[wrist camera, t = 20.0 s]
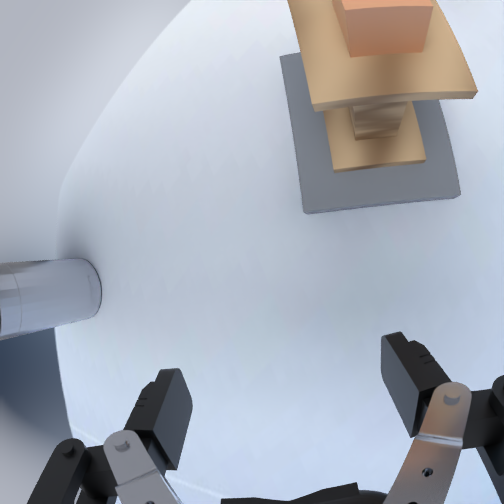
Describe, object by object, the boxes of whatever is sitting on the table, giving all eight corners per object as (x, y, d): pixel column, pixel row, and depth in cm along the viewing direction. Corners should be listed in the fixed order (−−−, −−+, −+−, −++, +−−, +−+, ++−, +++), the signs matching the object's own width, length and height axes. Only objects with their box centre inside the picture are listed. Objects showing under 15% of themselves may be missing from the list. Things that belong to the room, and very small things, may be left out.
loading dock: (307, 214, 33) (303, 212, 30) (284, 66, 33) (279, 56, 31) (453, 198, 28) (461, 194, 25) (414, 51, 28) (416, 40, 26)
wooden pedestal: (334, 172, 29) (311, 104, 14) (319, 91, 30) (283, -12, 14) (423, 163, 27) (477, 91, 11) (402, 82, 27) (420, -24, 11)
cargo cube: (350, 57, 13) (345, 10, 10) (333, 6, 14) (322, -41, 10) (422, 52, 12) (433, 6, 8) (398, 1, 12) (400, -46, 8)
